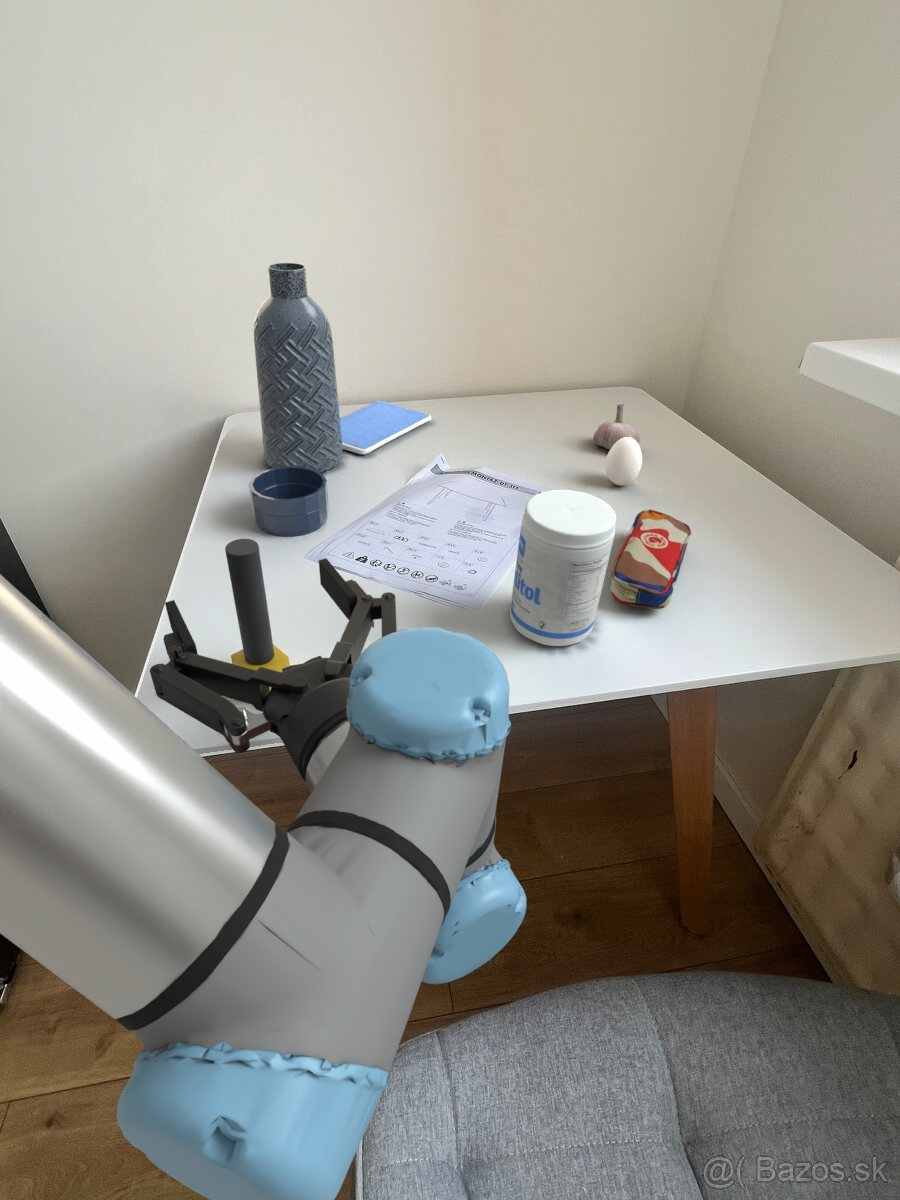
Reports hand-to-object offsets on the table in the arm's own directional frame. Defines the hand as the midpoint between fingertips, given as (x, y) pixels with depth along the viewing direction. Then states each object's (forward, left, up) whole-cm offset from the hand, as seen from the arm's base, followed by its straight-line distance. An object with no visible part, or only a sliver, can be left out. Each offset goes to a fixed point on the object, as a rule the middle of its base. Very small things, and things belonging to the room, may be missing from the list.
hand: (251, 591), depth 62 cm
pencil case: (+15, +46, -12) cm, 50 cm away
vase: (-40, +34, -12) cm, 54 cm away
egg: (-1, +65, -12) cm, 66 cm away
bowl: (-26, +22, -12) cm, 36 cm away
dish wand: (-1, 0, -12) cm, 12 cm away
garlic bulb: (-9, +76, -12) cm, 78 cm away
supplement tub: (+13, +29, -12) cm, 34 cm away
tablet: (-42, +50, -12) cm, 67 cm away
